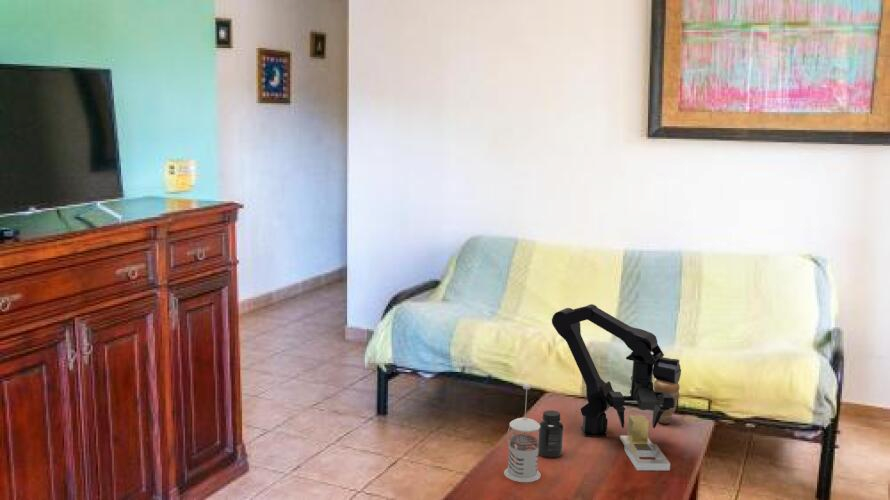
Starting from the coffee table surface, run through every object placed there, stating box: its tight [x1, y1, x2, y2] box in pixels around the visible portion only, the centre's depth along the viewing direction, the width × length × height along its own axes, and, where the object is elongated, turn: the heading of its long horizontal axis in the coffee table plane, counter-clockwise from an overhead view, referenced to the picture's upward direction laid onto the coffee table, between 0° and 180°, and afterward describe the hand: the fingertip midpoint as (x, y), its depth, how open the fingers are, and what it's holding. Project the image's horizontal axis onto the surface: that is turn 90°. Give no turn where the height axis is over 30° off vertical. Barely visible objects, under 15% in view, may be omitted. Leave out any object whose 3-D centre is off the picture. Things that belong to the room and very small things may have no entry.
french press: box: [503, 383, 541, 483], centre depth 219 cm, size 10×12×25 cm
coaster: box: [619, 435, 653, 446], centre depth 242 cm, size 8×8×1 cm
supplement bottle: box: [537, 409, 564, 459], centre depth 232 cm, size 7×7×12 cm
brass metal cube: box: [626, 414, 650, 444], centre depth 241 cm, size 5×5×7 cm
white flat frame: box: [623, 443, 671, 472], centre depth 231 cm, size 9×13×2 cm
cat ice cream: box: [653, 379, 681, 425], centre depth 256 cm, size 9×8×18 cm
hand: (638, 427), depth 241 cm, fingers open, 9 cm apart
